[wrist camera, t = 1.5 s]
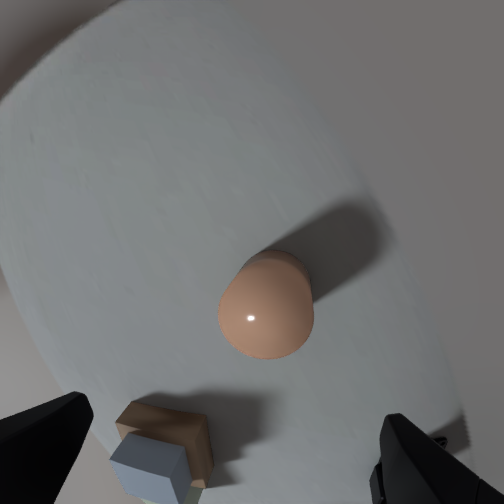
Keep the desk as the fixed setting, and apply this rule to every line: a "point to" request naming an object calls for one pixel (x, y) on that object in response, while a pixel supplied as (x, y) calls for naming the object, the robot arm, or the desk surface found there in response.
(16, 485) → the robot arm
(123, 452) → the tower mid
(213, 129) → the desk surface
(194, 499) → the block
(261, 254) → the clay cylinder
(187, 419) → the tower base
